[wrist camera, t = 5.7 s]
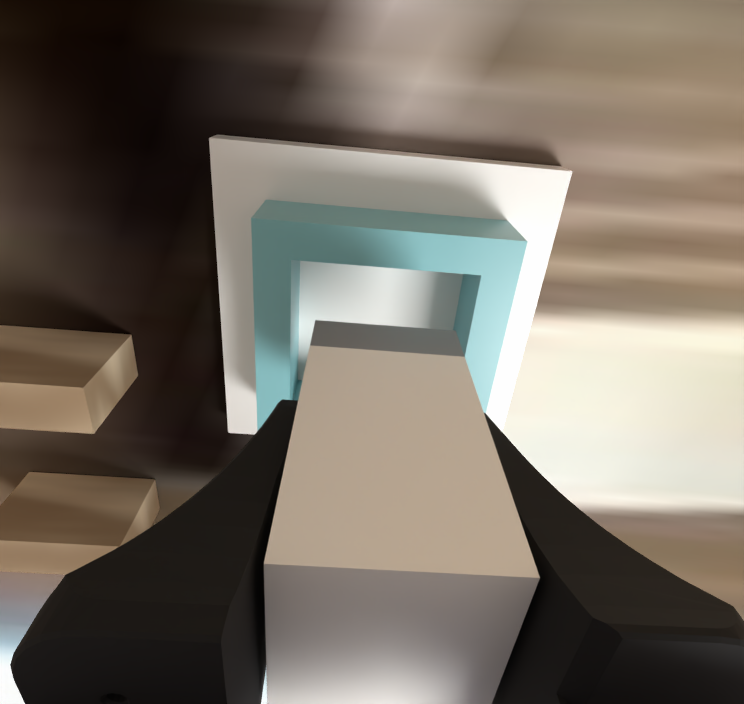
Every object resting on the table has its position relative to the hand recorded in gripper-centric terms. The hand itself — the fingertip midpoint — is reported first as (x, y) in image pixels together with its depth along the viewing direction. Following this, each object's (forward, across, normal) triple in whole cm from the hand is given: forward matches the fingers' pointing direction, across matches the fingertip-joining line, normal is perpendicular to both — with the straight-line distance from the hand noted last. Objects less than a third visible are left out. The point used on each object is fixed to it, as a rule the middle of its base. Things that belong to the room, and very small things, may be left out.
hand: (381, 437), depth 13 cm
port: (+8, 0, 0) cm, 8 cm away
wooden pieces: (+8, +13, +7) cm, 17 cm away
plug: (+2, 0, 0) cm, 2 cm away
